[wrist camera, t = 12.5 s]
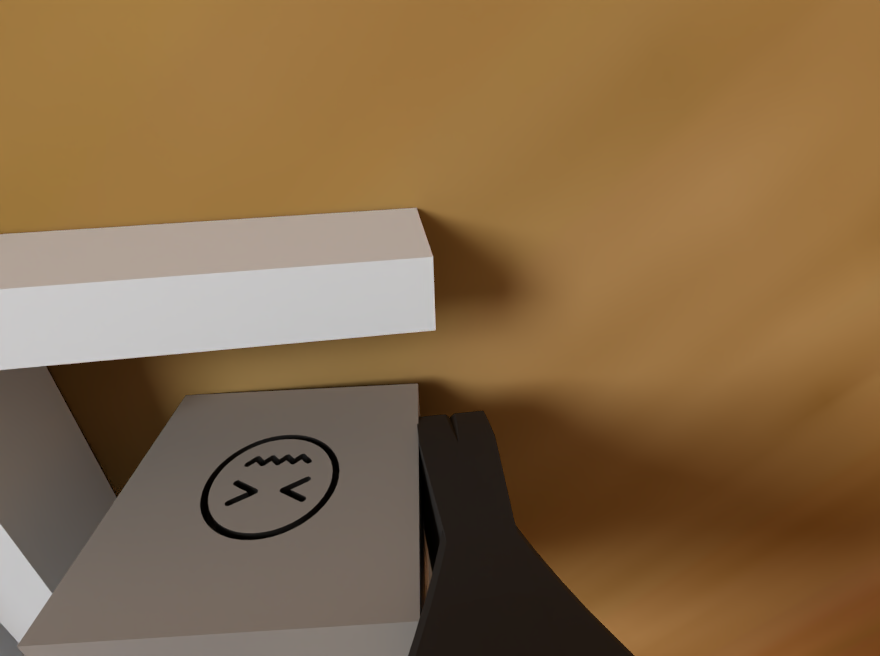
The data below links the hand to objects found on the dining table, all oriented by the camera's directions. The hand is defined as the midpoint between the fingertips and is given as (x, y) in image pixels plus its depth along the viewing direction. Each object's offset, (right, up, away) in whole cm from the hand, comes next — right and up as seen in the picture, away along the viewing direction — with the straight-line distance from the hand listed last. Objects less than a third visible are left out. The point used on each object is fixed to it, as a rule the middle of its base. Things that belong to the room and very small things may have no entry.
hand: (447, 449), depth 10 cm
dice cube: (-3, -1, +2) cm, 4 cm away
